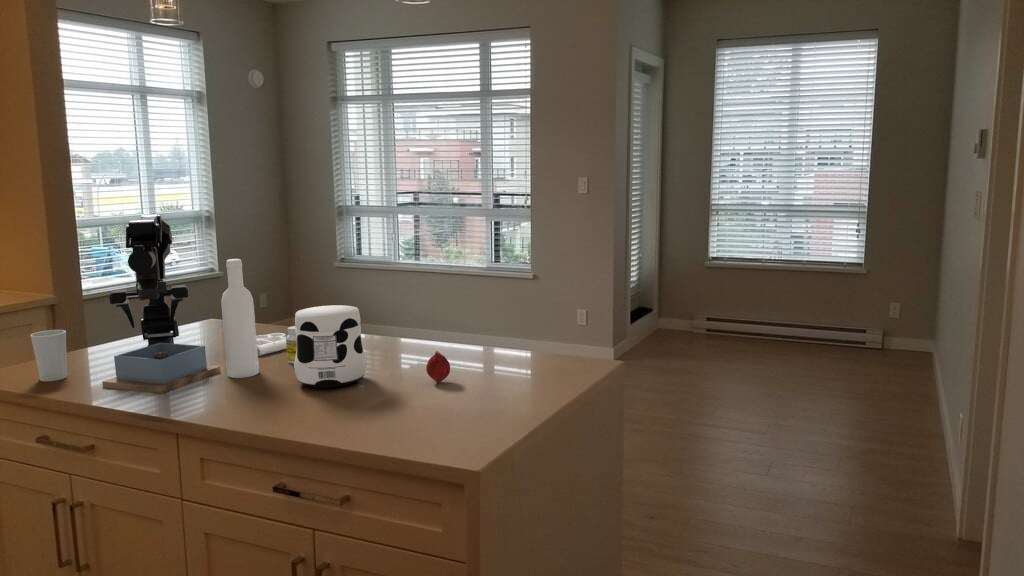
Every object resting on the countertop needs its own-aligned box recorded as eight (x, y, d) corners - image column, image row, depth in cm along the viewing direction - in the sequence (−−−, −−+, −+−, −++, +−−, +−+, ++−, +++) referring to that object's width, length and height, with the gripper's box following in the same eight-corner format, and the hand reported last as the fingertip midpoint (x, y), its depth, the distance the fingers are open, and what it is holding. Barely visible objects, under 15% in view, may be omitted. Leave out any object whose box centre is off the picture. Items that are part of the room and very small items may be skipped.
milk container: (342, 369, 207) (338, 301, 204) (381, 381, 195) (377, 309, 192) (282, 383, 195) (277, 312, 192) (319, 397, 183) (314, 321, 180)
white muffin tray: (251, 360, 220) (220, 354, 229) (303, 347, 235) (272, 341, 243) (250, 348, 220) (219, 342, 228) (302, 336, 234) (271, 331, 243)
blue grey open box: (156, 363, 212) (153, 342, 211) (207, 368, 206) (204, 345, 205) (109, 378, 198) (107, 355, 197) (163, 384, 192) (160, 360, 191)
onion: (454, 380, 194) (453, 348, 193) (444, 386, 189) (443, 354, 187) (433, 378, 196) (431, 347, 195) (422, 385, 190) (421, 352, 189)
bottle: (221, 374, 205) (211, 260, 200) (249, 368, 210) (240, 256, 205) (237, 380, 199) (226, 262, 194) (265, 373, 205) (256, 258, 200)
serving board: (164, 366, 214) (163, 361, 214) (220, 371, 207) (219, 366, 207) (102, 387, 196) (102, 381, 196) (162, 393, 189) (161, 387, 189)
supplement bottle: (311, 359, 218) (309, 325, 216) (301, 364, 213) (298, 329, 211) (294, 358, 220) (292, 324, 218) (283, 363, 215) (281, 329, 213)
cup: (55, 382, 201) (49, 336, 199) (28, 381, 203) (22, 336, 201) (78, 374, 209) (73, 330, 207) (52, 373, 210) (46, 329, 209)
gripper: (105, 274, 196) (112, 336, 198) (186, 268, 203) (191, 327, 206) (107, 269, 206) (114, 327, 208) (184, 263, 213) (190, 320, 216)
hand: (152, 326), depth 209 cm, fingers open, 9 cm apart
